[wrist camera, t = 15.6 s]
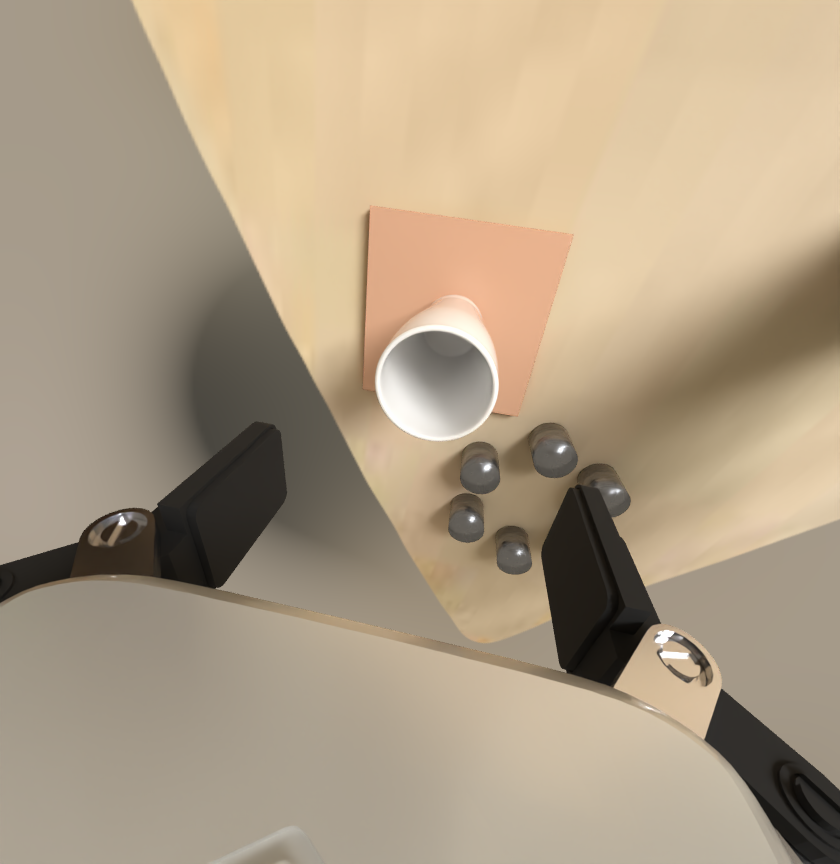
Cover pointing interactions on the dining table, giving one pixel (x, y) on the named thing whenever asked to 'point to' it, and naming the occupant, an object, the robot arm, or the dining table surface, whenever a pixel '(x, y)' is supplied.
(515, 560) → the spacer posts
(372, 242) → the terracotta tile
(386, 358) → the drinking glass
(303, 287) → the dining table surface
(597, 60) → the dining table surface
